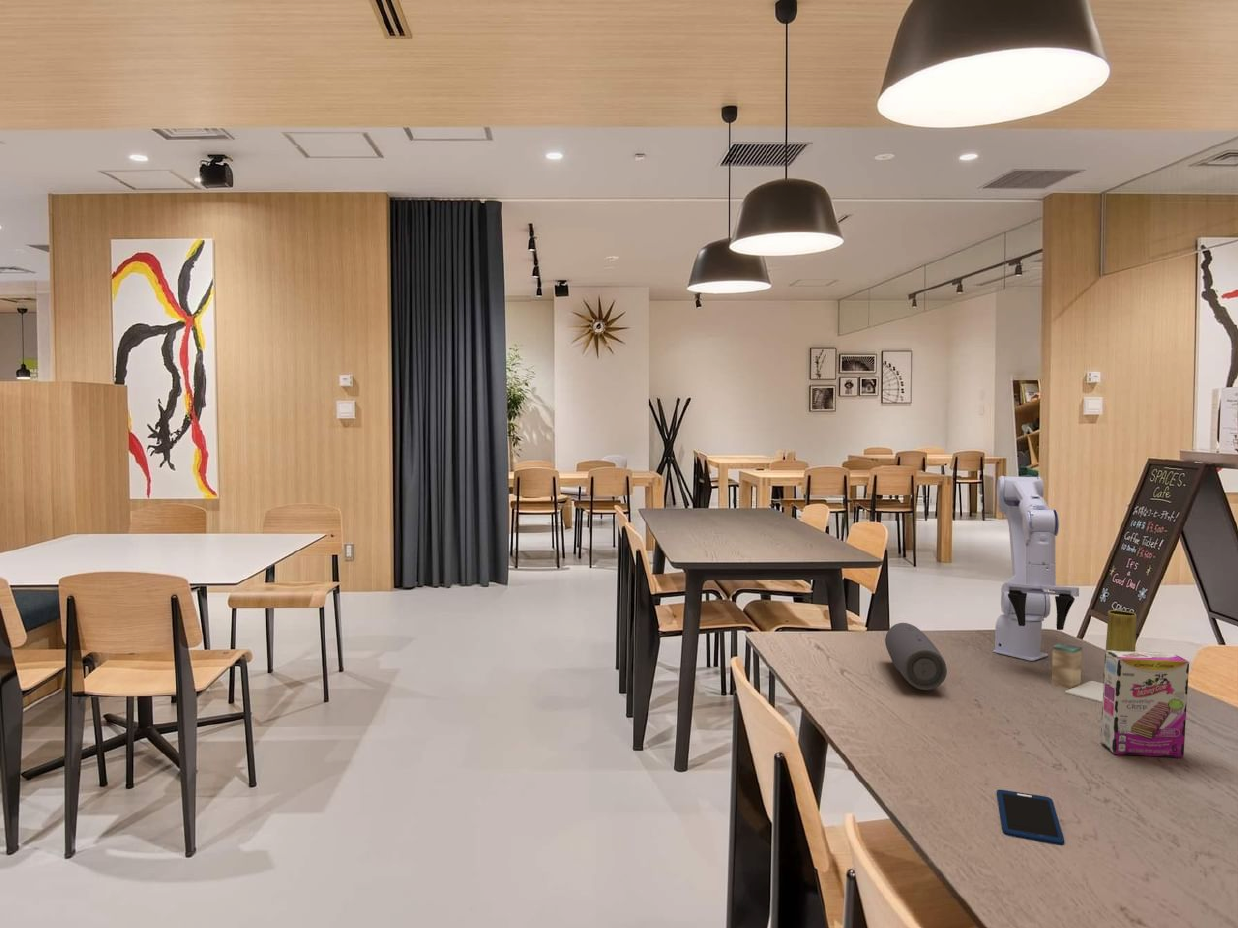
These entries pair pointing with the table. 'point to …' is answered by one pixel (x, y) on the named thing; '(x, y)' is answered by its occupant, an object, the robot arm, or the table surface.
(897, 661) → the bluetooth speaker
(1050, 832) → the cell phone
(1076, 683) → the block
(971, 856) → the table surface
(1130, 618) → the vase
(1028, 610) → the robot arm
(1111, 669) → the candy bar box
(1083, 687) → the mat
